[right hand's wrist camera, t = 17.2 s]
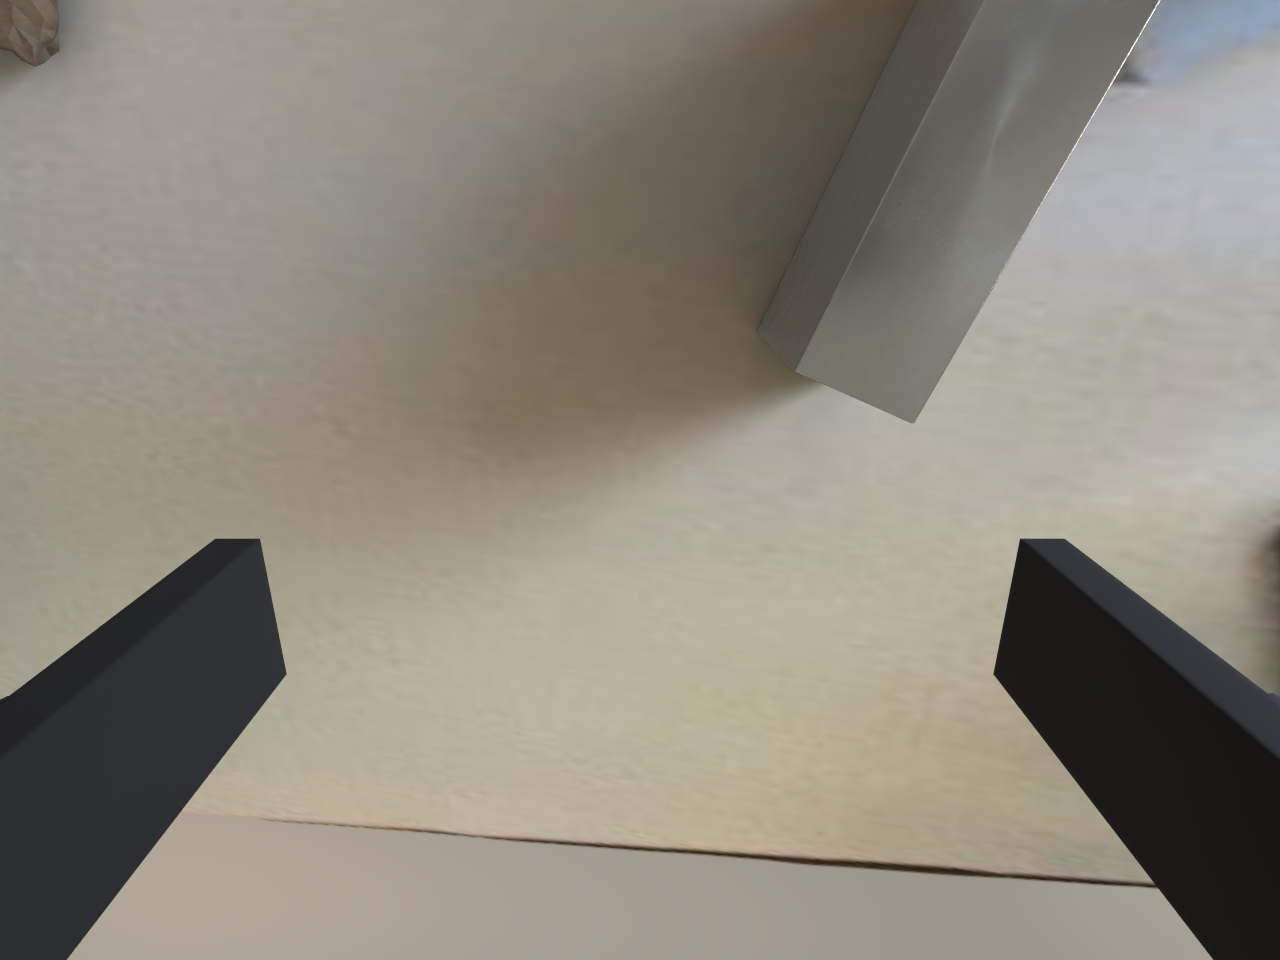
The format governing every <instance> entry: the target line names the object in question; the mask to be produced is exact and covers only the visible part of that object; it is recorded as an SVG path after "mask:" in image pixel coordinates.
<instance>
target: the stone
mask: <svg viewBox="0 0 1280 960" xmlns="http://www.w3.org/2000/svg"><path fill="white" fill-rule="evenodd" d="M58 26H59V13H58V6H57V0H0V48H1V49H5V50H9V51H13V52H14V53H15V54H16V55H17V56H18V57H19V58H20V59H21V60H22V61H24V62H27V63H29V64H31V65H33V66H38V65H40V64H42V63H45V62H46V61H47V60H48V59H49V58H50V57H51V56H52V55H54V54H55V53H57V52H58V51H59V40H58Z"/></svg>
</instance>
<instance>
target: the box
mask: <svg viewBox="0 0 1280 960" xmlns="http://www.w3.org/2000/svg"><path fill="white" fill-rule="evenodd" d="M1159 2H1160V0H917V2H916V4H915V6H914V8H913V10H912V12H911V14H910V17H909V19H908V21H907V23H906V25H905V27H904V29H903V31H902V33H901V35H900V37H899V39H898V41H897V43H896V45H895V47H894V50H893V52H892V54H891V56H890V58H889V60H888V62H887V64H886V66H885V68H884V70H883V72H882V74H881V76H880V78H879V80H878V83H877V85H876V87H875V89H874V91H873V93H872V95H871V97H870V99H869V101H868V103H867V105H866V107H865V109H864V111H863V113H862V116H861V118H860V120H859V122H858V124H857V126H856V128H855V130H854V132H853V134H852V136H851V138H850V140H849V142H848V144H847V146H846V148H845V151H844V153H843V155H842V157H841V159H840V161H839V163H838V165H837V167H836V169H835V171H834V173H833V175H832V177H831V179H830V181H829V184H828V186H827V188H826V190H825V192H824V194H823V196H822V198H821V200H820V202H819V204H818V206H817V208H816V210H815V212H814V214H813V217H812V219H811V221H810V223H809V225H808V227H807V229H806V231H805V233H804V235H803V237H802V239H801V241H800V243H799V245H798V247H797V249H796V252H795V254H794V256H793V258H792V260H791V262H790V264H789V266H788V268H787V270H786V272H785V274H784V276H783V278H782V280H781V282H780V285H779V287H778V289H777V291H776V293H775V295H774V297H773V299H772V301H771V303H770V305H769V307H768V309H767V311H766V313H765V315H764V318H763V320H762V322H761V324H760V326H759V328H758V330H757V334H758V335H759V336H760V337H761V338H762V339H763V340H764V341H765V342H766V343H767V344H768V345H769V346H770V347H771V348H772V349H773V350H774V351H775V352H776V353H777V354H778V355H779V356H780V357H781V358H782V359H783V360H784V361H785V362H786V363H787V364H788V365H789V366H790V367H791V368H792V369H793V370H794V371H795V372H797V373H800V374H802V375H804V376H806V377H809V378H811V379H813V380H815V381H818V382H820V383H822V384H824V385H827V386H829V387H831V388H833V389H836V390H838V391H840V392H842V393H845V394H847V395H849V396H851V397H854V398H856V399H858V400H860V401H863V402H865V403H867V404H869V405H872V406H874V407H876V408H878V409H881V410H883V411H885V412H887V413H890V414H892V415H894V416H896V417H899V418H901V419H903V420H905V421H908V422H910V423H914V422H915V421H916V419H917V417H918V415H919V414H920V412H921V410H922V409H923V407H924V405H925V403H926V402H927V400H928V398H929V397H930V395H931V393H932V391H933V390H934V388H935V386H936V385H937V383H938V381H939V379H940V378H941V376H942V374H943V373H944V371H945V369H946V367H947V366H948V364H949V362H950V361H951V359H952V357H953V355H954V354H955V352H956V350H957V349H958V347H959V345H960V343H961V342H962V340H963V338H964V337H965V335H966V333H967V331H968V330H969V328H970V326H971V325H972V323H973V321H974V319H975V318H976V316H977V314H978V313H979V311H980V309H981V307H982V306H983V304H984V302H985V301H986V299H987V297H988V295H989V294H990V292H991V290H992V289H993V287H994V285H995V283H996V282H997V280H998V278H999V277H1000V275H1001V273H1002V271H1003V270H1004V268H1005V266H1006V265H1007V263H1008V261H1009V259H1010V258H1011V256H1012V254H1013V253H1014V251H1015V249H1016V247H1017V246H1018V244H1019V242H1020V241H1021V239H1022V237H1023V235H1024V234H1025V232H1026V230H1027V229H1028V227H1029V225H1030V223H1031V222H1032V220H1033V218H1034V216H1035V215H1036V213H1037V211H1038V210H1039V208H1040V206H1041V204H1042V203H1043V201H1044V199H1045V198H1046V196H1047V194H1048V192H1049V191H1050V189H1051V187H1052V186H1053V184H1054V182H1055V180H1056V179H1057V177H1058V175H1059V174H1060V172H1061V170H1062V168H1063V167H1064V165H1065V163H1066V162H1067V160H1068V158H1069V156H1070V155H1071V153H1072V151H1073V150H1074V148H1075V146H1076V144H1077V143H1078V141H1079V139H1080V138H1081V136H1082V134H1083V132H1084V131H1085V129H1086V127H1087V126H1088V124H1089V122H1090V120H1091V119H1092V117H1093V115H1094V114H1095V112H1096V110H1097V108H1098V107H1099V105H1100V103H1101V102H1102V100H1103V98H1104V96H1105V95H1106V93H1107V91H1108V90H1109V88H1110V86H1111V84H1112V83H1113V81H1114V79H1115V78H1116V76H1117V74H1118V72H1119V71H1120V69H1121V67H1122V66H1123V64H1124V62H1125V60H1126V59H1127V57H1128V55H1129V54H1130V52H1131V50H1132V48H1133V47H1134V45H1135V43H1136V42H1137V40H1138V38H1139V36H1140V35H1141V33H1142V31H1143V30H1144V28H1145V26H1146V24H1147V23H1148V21H1149V19H1150V18H1151V16H1152V14H1153V12H1154V11H1155V9H1156V7H1157V6H1158V4H1159Z"/></svg>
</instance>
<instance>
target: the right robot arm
mask: <svg viewBox="0 0 1280 960" xmlns="http://www.w3.org/2000/svg"><path fill="white" fill-rule="evenodd" d="M285 675H286V669H285V664H284V659H283V654H282V649H281V644H280V639H279V634H278V628H277V623H276V618H275V613H274V608H273V603H272V598H271V593H270V588H269V583H268V578H267V573H266V567H265V562H264V557H263V552H262V547H261V542H260V539H215V540H213V541H212V542H211V543H209V544H208V545H207V546H205V547H204V548H203V549H201V550H200V551H199V552H198V553H196V554H195V555H194V556H192V557H191V558H190V559H188V560H187V561H186V562H184V563H183V564H182V565H180V566H179V567H178V568H177V569H175V570H174V571H173V572H171V573H170V574H169V575H167V576H166V577H165V578H163V579H162V580H161V581H159V582H158V583H157V584H156V585H154V586H153V587H152V588H150V589H149V590H148V591H146V592H145V593H144V594H142V595H141V596H140V597H138V598H137V599H136V600H135V601H133V602H132V603H131V604H129V605H128V606H127V607H125V608H124V609H123V610H121V611H120V612H119V613H117V614H116V615H115V616H114V617H112V618H111V619H110V620H108V621H107V622H106V623H104V624H103V625H102V626H100V627H99V628H98V629H97V630H95V631H94V632H93V633H91V634H90V635H89V636H87V637H86V638H85V639H83V640H82V641H81V642H79V643H78V644H77V645H76V646H74V647H73V648H72V649H70V650H69V651H68V652H66V653H65V654H64V655H62V656H61V657H60V658H58V659H57V660H56V661H55V662H53V663H52V664H51V665H49V666H48V667H47V668H45V669H44V670H43V671H41V672H40V673H39V674H37V675H36V676H35V677H34V678H32V679H31V680H30V681H28V682H27V683H26V684H24V685H23V686H22V687H20V688H19V689H18V690H16V691H15V692H14V693H13V694H11V695H10V696H7V697H5V698H3V699H1V700H0V960H67V959H68V957H69V956H70V955H71V953H72V952H73V951H74V949H75V948H76V947H77V946H78V944H79V943H80V942H81V940H82V939H83V938H84V936H85V935H86V934H87V933H88V931H89V930H90V929H91V927H92V926H93V925H94V923H95V922H96V921H97V920H98V918H99V917H100V916H101V914H102V913H103V912H104V911H105V909H106V908H107V907H108V905H109V904H110V903H111V901H112V900H113V899H114V897H115V896H116V895H117V894H118V892H119V891H120V890H121V888H122V887H123V886H124V884H125V883H126V882H127V881H128V879H129V878H130V877H131V875H132V874H133V873H134V872H135V870H136V869H137V868H138V866H139V865H140V864H141V862H142V861H143V860H144V859H145V857H146V856H147V855H148V853H149V852H150V851H151V849H152V848H153V847H154V846H155V844H156V843H157V842H158V840H159V839H160V838H161V836H162V835H163V834H164V833H165V831H166V830H167V829H168V827H169V826H170V825H171V823H172V822H173V821H174V820H175V818H176V817H177V816H178V814H179V813H180V812H181V811H182V809H183V808H184V807H185V805H186V804H187V803H188V801H189V800H190V799H191V798H192V796H193V795H194V794H195V792H196V791H197V790H198V788H199V787H200V786H201V785H202V783H203V782H204V781H205V779H206V778H207V777H208V775H209V774H210V773H211V772H212V770H213V769H214V768H215V766H216V765H217V764H218V762H219V761H220V760H221V759H222V757H223V756H224V755H225V753H226V752H227V751H228V749H229V748H230V747H231V746H232V744H233V743H234V742H235V740H236V739H237V738H238V737H239V735H240V734H241V733H242V731H243V730H244V729H245V727H246V726H247V725H248V724H249V722H250V721H251V720H252V718H253V717H254V716H255V714H256V713H257V712H258V711H259V709H260V708H261V707H262V705H263V704H264V703H265V701H266V700H267V699H268V698H269V696H270V695H271V694H272V692H273V691H274V690H275V688H276V687H277V686H278V685H279V683H280V682H281V681H282V679H283V678H284V677H285ZM994 675H995V677H996V678H997V679H998V681H999V682H1000V683H1001V685H1002V686H1003V687H1004V688H1005V690H1006V691H1007V692H1008V694H1009V695H1010V696H1011V698H1012V699H1013V700H1014V701H1015V703H1016V704H1017V705H1018V707H1019V708H1020V709H1021V711H1022V712H1023V713H1024V714H1025V716H1026V717H1027V718H1028V720H1029V721H1030V722H1031V724H1032V725H1033V726H1034V727H1035V729H1036V730H1037V731H1038V733H1039V734H1040V735H1041V737H1042V738H1043V739H1044V740H1045V742H1046V743H1047V744H1048V746H1049V747H1050V748H1051V749H1052V751H1053V752H1054V753H1055V755H1056V756H1057V757H1058V759H1059V760H1060V761H1061V762H1062V764H1063V765H1064V766H1065V768H1066V769H1067V770H1068V772H1069V773H1070V774H1071V775H1072V777H1073V778H1074V779H1075V781H1076V782H1077V783H1078V785H1079V786H1080V787H1081V788H1082V790H1083V791H1084V792H1085V794H1086V795H1087V796H1088V798H1089V799H1090V800H1091V801H1092V803H1093V804H1094V805H1095V807H1096V808H1097V809H1098V811H1099V812H1100V813H1101V814H1102V816H1103V817H1104V818H1105V820H1106V821H1107V822H1108V824H1109V825H1110V826H1111V827H1112V829H1113V830H1114V831H1115V833H1116V834H1117V835H1118V836H1119V838H1120V839H1121V840H1122V842H1123V843H1124V844H1125V846H1126V847H1127V848H1128V849H1129V851H1130V852H1131V853H1132V855H1133V856H1134V857H1135V859H1136V860H1137V861H1138V862H1139V864H1140V865H1141V866H1142V868H1143V869H1144V870H1145V872H1146V873H1147V874H1148V875H1149V877H1150V878H1151V879H1152V881H1153V882H1154V883H1155V885H1156V886H1157V887H1158V888H1159V890H1160V891H1161V892H1162V894H1163V895H1164V896H1165V897H1166V899H1167V900H1168V901H1169V903H1170V904H1171V905H1172V907H1173V908H1174V909H1175V910H1176V912H1177V913H1178V914H1179V916H1180V917H1181V918H1182V920H1183V921H1184V922H1185V923H1186V925H1187V926H1188V927H1189V929H1190V930H1191V931H1192V933H1193V934H1194V935H1195V936H1196V938H1197V939H1198V940H1199V942H1200V943H1201V944H1202V946H1203V947H1204V948H1205V949H1206V951H1207V952H1208V953H1209V955H1210V956H1211V957H1212V959H1213V960H1280V697H1279V696H1277V695H1275V694H1267V693H1266V692H1265V691H1264V690H1262V689H1261V688H1260V687H1258V686H1257V685H1256V684H1254V683H1253V682H1252V681H1250V680H1249V679H1248V678H1246V677H1245V676H1244V675H1243V674H1241V673H1240V672H1239V671H1237V670H1236V669H1235V668H1233V667H1232V666H1231V665H1229V664H1228V663H1227V662H1225V661H1224V660H1223V659H1222V658H1220V657H1219V656H1218V655H1216V654H1215V653H1214V652H1212V651H1211V650H1210V649H1208V648H1207V647H1206V646H1204V645H1203V644H1202V643H1201V642H1199V641H1198V640H1197V639H1195V638H1194V637H1193V636H1191V635H1190V634H1189V633H1187V632H1186V631H1185V630H1183V629H1182V628H1181V627H1180V626H1178V625H1177V624H1176V623H1174V622H1173V621H1172V620H1170V619H1169V618H1168V617H1166V616H1165V615H1164V614H1163V613H1161V612H1160V611H1159V610H1157V609H1156V608H1155V607H1153V606H1152V605H1151V604H1149V603H1148V602H1147V601H1145V600H1144V599H1143V598H1142V597H1140V596H1139V595H1138V594H1136V593H1135V592H1134V591H1132V590H1131V589H1130V588H1128V587H1127V586H1126V585H1124V584H1123V583H1122V582H1121V581H1119V580H1118V579H1117V578H1115V577H1114V576H1113V575H1111V574H1110V573H1109V572H1107V571H1106V570H1105V569H1103V568H1102V567H1101V566H1100V565H1098V564H1097V563H1096V562H1094V561H1093V560H1092V559H1090V558H1089V557H1088V556H1086V555H1085V554H1084V553H1082V552H1081V551H1080V550H1079V549H1077V548H1076V547H1075V546H1073V545H1072V544H1071V543H1069V542H1068V541H1067V540H1065V539H1020V542H1019V547H1018V552H1017V557H1016V562H1015V567H1014V572H1013V578H1012V583H1011V588H1010V593H1009V598H1008V603H1007V608H1006V613H1005V618H1004V623H1003V628H1002V634H1001V639H1000V644H999V649H998V654H997V659H996V664H995V669H994Z"/></svg>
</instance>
